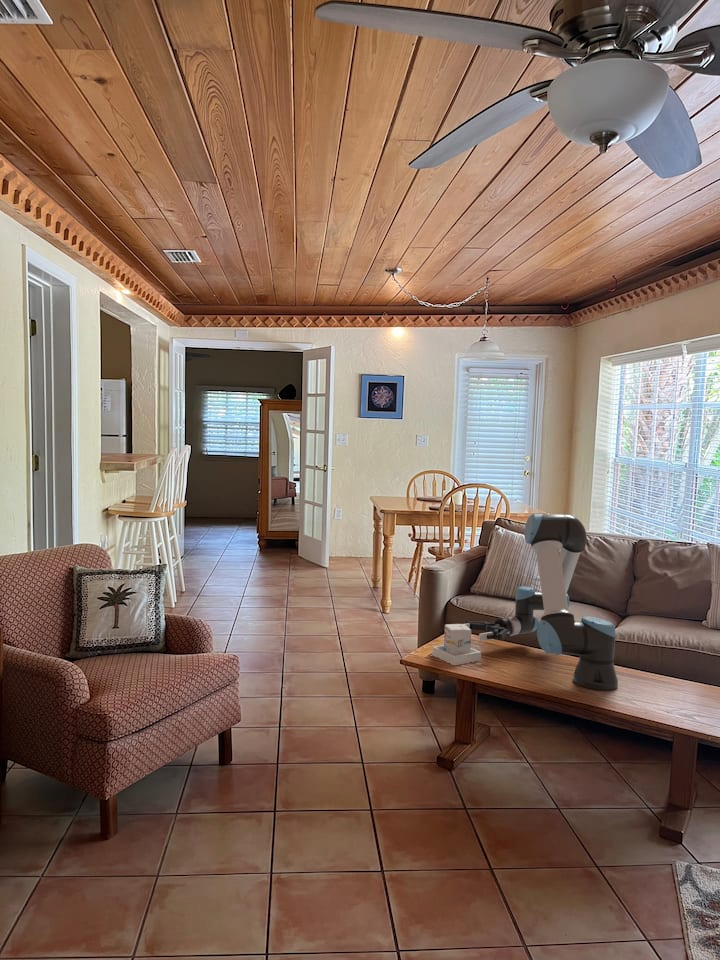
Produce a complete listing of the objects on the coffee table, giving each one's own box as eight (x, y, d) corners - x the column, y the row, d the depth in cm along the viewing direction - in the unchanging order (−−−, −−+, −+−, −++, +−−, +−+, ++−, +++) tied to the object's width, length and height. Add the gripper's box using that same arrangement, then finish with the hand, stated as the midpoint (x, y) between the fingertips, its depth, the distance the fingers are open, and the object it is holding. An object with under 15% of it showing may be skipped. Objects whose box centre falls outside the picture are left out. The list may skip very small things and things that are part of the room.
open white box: (480, 660, 257) (481, 652, 257) (453, 665, 250) (454, 656, 250) (458, 651, 268) (459, 642, 268) (432, 655, 261) (432, 646, 261)
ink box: (442, 652, 263) (444, 623, 262) (463, 652, 264) (464, 623, 264) (449, 659, 254) (451, 629, 254) (470, 658, 256) (472, 629, 255)
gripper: (528, 643, 262) (489, 651, 251) (485, 628, 283) (447, 634, 272) (529, 625, 262) (490, 631, 251) (486, 610, 283) (448, 616, 272)
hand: (468, 632), depth 261 cm, fingers open, 13 cm apart
